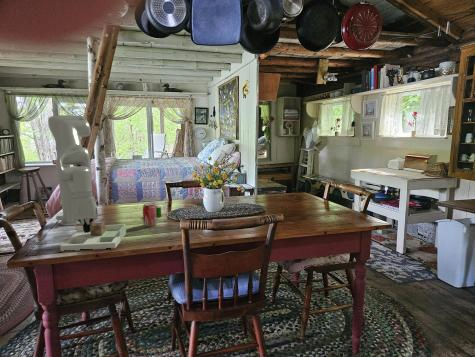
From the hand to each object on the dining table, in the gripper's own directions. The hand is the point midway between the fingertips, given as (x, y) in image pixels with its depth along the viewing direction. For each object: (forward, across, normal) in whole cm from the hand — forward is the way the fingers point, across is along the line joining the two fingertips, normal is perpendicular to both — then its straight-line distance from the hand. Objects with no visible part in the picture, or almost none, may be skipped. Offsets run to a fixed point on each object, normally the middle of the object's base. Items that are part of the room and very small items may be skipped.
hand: (87, 231), depth 146 cm
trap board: (+4, +5, -4) cm, 7 cm away
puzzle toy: (+4, +26, +36) cm, 44 cm away
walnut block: (+1, +5, 0) cm, 5 cm away
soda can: (+4, +26, +19) cm, 32 cm away
